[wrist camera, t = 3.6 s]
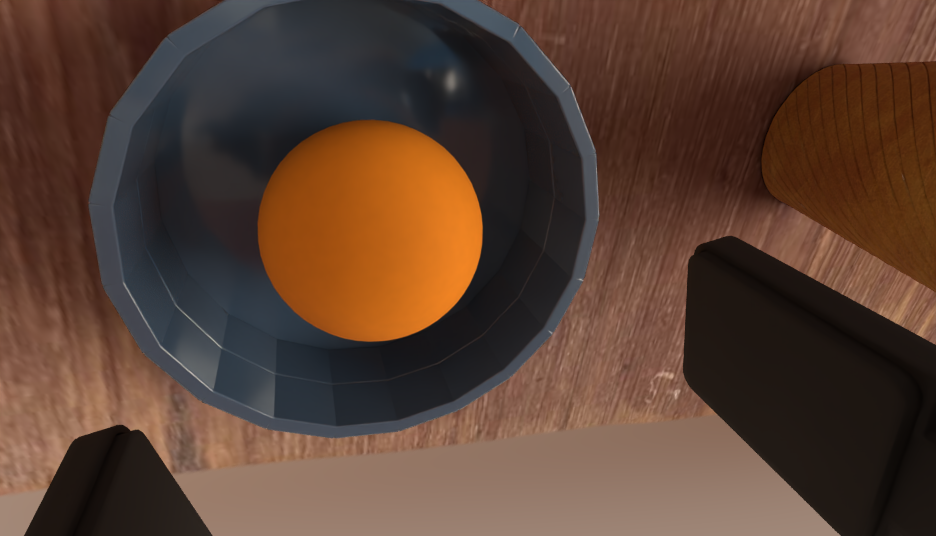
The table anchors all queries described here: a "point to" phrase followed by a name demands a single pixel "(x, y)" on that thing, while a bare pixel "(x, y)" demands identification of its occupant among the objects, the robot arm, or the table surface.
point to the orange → (370, 230)
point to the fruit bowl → (269, 141)
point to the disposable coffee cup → (863, 159)
